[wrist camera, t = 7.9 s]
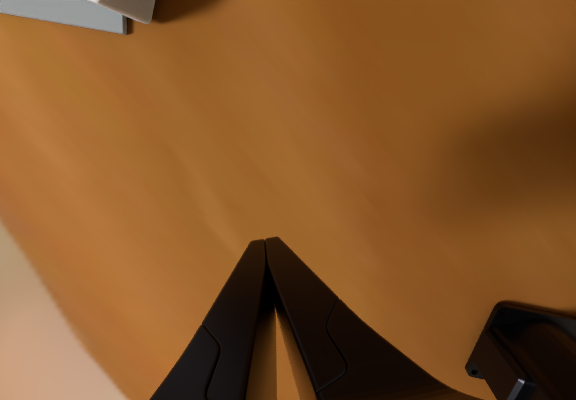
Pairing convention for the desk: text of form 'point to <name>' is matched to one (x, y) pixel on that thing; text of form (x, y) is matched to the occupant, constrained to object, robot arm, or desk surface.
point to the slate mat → (68, 13)
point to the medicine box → (130, 8)
